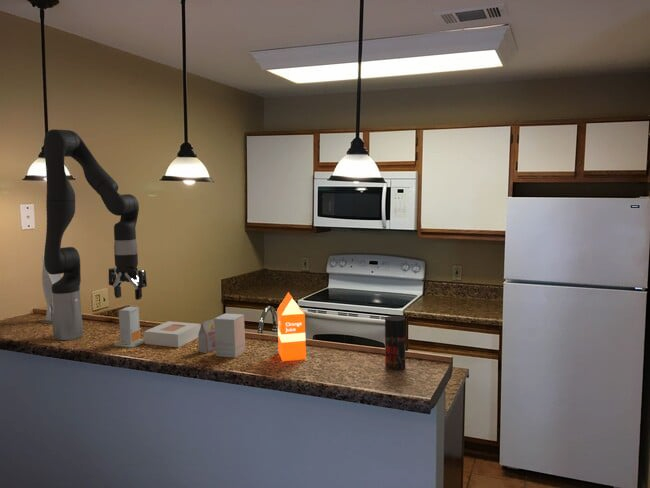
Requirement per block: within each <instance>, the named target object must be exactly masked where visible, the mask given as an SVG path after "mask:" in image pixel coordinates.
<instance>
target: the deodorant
mask: <svg viewBox="0 0 650 488" xmlns="http://www.w3.org/2000/svg"><path fill="white" fill-rule="evenodd" d="M384 338H385V339H384V349H385V350H384V352H385V354H384V357H385V360H384V363H385V364H384V366H385V367H384V368H385V369H386V370H389V371H392V372H399V371H400V372H401V371H404V370H405V369H406V317H404V316H400V315H388V316H385V318H384Z"/></svg>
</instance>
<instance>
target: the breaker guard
mask: <svg viewBox="0 0 650 488" xmlns="http://www.w3.org/2000/svg"><path fill="white" fill-rule="evenodd" d="M172 325H176V326H184V327H182V328H179V329H177V330H175V331H165V330H163V329H165V328H168V327H170V326H172ZM200 327H201V323H192V322H182V321H181V322H179V321H170V320H168V321H166V322H163V323H161V324H159V325H156V326H153V327H151V328H148V329H146V330H145V331H143V339H144V340H145V343H144V345H150V346H151V345H153V346H162V347H163V346H164V347H171V348H173V347H174V348H180V347H183V346H184V345H186V344H187V343H190V342H192V341H194V340H196V339H198V333H199V330H200Z"/></svg>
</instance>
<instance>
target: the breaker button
mask: <svg viewBox="0 0 650 488" xmlns="http://www.w3.org/2000/svg"><path fill="white" fill-rule="evenodd" d="M182 327H184V326H176V325H172V326H170V327H168V328H165V329H163V330H165V331H175V330H177V329H179V328H182Z"/></svg>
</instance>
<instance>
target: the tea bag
mask: <svg viewBox="0 0 650 488" xmlns="http://www.w3.org/2000/svg"><path fill="white" fill-rule="evenodd" d="M214 319H215V318H213V319H210V320H207V321H203V322H201V323H200V324H201V327H200V330H199V333H198V338H197V339H198V351H199V353H203V354H209V353H212V352H214V351H215V352H216V345H215V326H214Z"/></svg>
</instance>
